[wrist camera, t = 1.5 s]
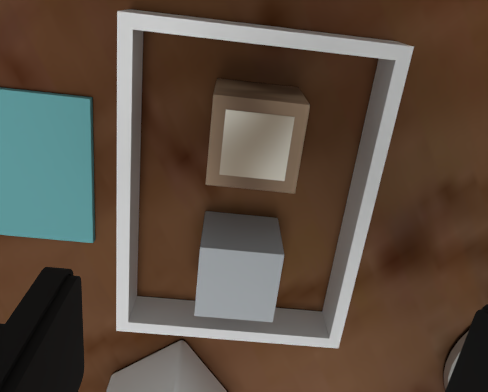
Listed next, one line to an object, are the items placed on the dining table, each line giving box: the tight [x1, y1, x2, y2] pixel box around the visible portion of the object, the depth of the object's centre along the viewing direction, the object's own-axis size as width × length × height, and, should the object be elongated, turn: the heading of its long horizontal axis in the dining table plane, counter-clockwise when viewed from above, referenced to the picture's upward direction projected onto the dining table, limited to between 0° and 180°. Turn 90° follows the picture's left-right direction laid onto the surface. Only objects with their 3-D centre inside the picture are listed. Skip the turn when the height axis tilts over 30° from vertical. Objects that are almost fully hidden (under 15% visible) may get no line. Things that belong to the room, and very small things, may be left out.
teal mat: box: [0, 87, 95, 243], centre depth 30 cm, size 10×10×1 cm
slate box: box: [194, 211, 284, 322], centre depth 30 cm, size 5×5×5 cm
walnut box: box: [206, 78, 310, 194], centre depth 27 cm, size 5×5×5 cm
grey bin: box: [116, 9, 414, 348], centre depth 29 cm, size 16×21×3 cm
